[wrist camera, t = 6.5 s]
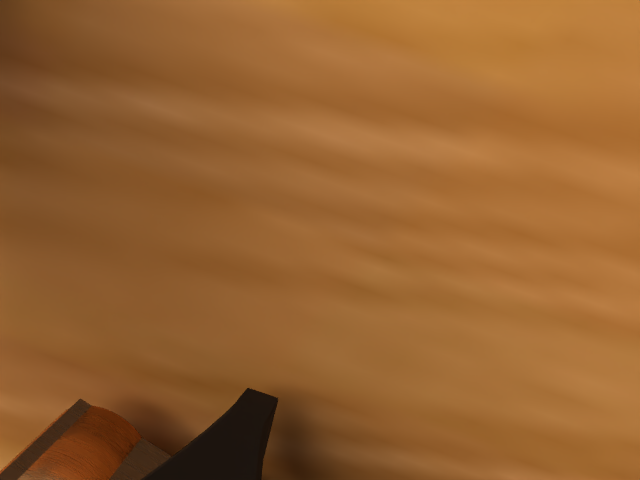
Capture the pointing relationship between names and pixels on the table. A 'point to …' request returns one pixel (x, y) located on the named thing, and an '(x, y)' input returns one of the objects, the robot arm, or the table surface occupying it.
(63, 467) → the grey copper-tipped rod
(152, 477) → the robot arm
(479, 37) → the table surface
